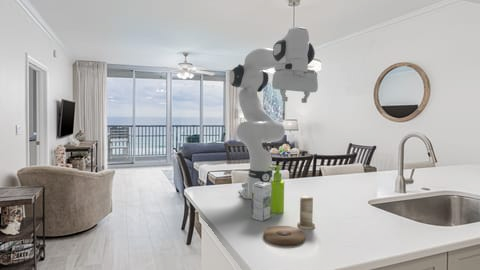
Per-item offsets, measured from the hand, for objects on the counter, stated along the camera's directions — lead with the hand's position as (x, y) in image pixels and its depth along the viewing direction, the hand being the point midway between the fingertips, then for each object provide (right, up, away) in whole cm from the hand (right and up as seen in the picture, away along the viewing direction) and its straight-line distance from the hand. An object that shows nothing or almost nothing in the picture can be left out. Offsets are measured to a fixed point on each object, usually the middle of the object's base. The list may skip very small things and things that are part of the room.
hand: (294, 102), depth 123 cm
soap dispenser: (-7, -47, +9) cm, 48 cm away
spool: (+3, -48, -9) cm, 49 cm away
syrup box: (-14, -48, -1) cm, 49 cm away
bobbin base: (-7, -49, -20) cm, 53 cm away
